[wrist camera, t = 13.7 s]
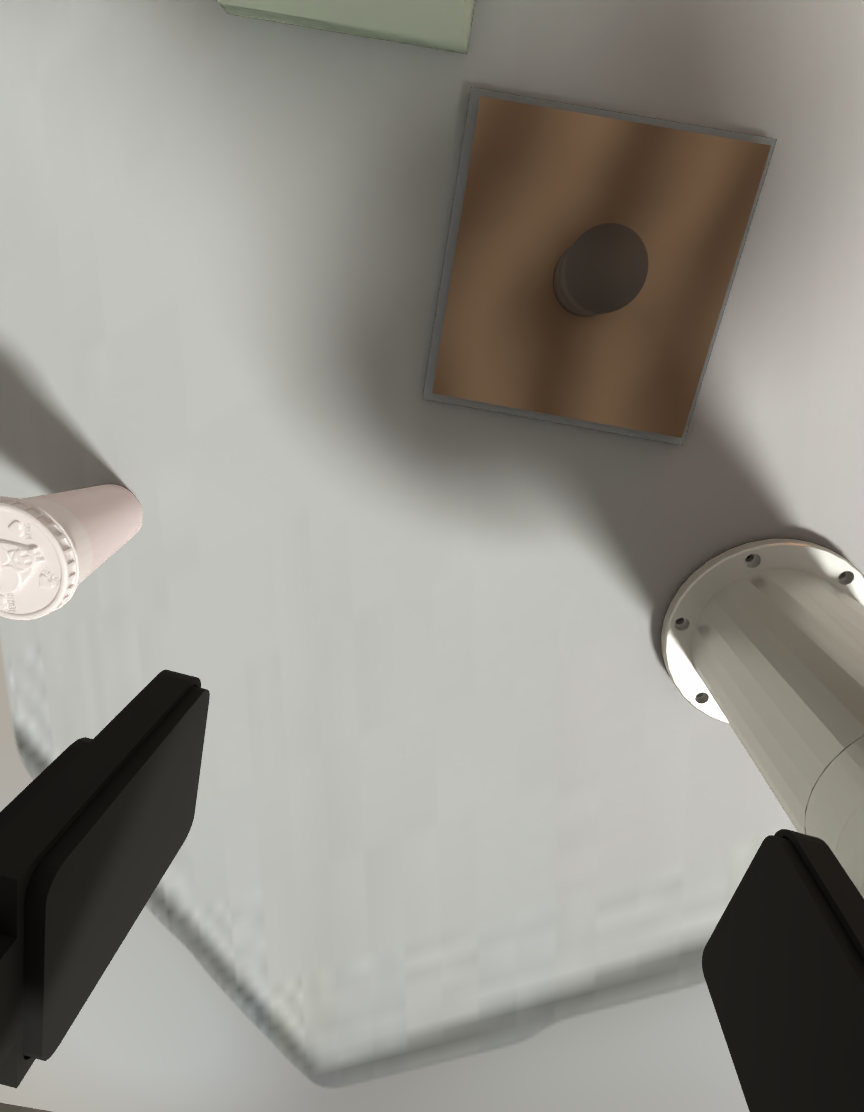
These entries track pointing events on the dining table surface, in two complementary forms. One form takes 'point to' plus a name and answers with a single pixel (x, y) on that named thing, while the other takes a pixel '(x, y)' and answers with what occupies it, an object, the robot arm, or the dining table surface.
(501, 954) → the dining table surface
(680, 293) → the lid
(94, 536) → the smoothie
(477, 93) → the mat
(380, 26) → the dish
